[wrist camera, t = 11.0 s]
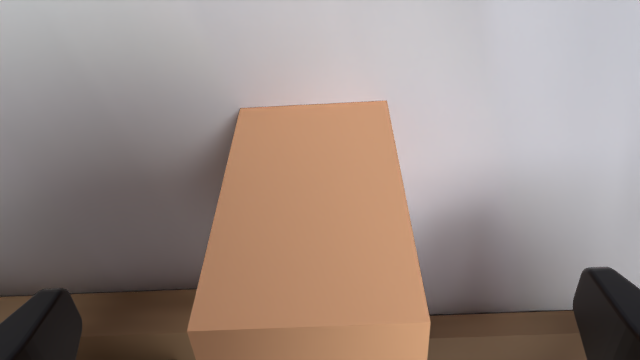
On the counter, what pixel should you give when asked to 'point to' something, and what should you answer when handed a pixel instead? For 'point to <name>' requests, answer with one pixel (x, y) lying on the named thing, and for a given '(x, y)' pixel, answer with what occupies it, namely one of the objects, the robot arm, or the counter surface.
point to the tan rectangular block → (311, 243)
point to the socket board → (128, 324)
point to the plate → (506, 336)
